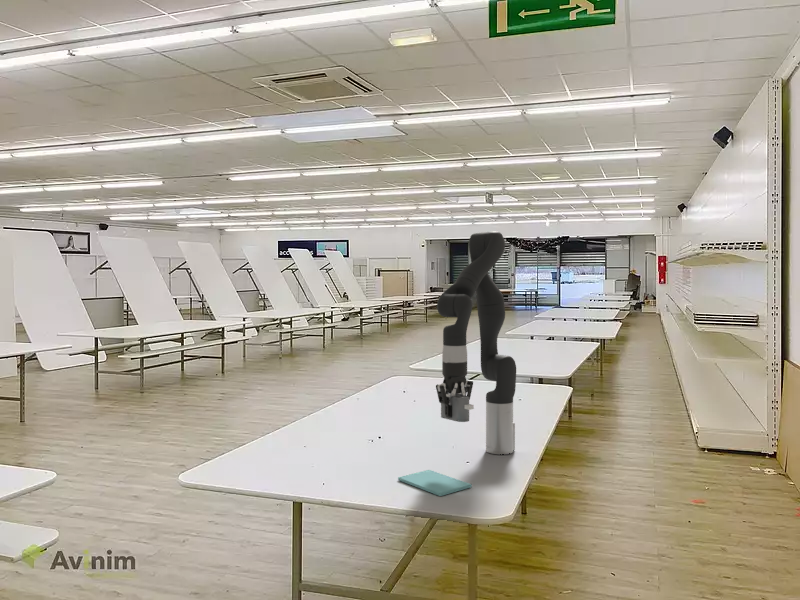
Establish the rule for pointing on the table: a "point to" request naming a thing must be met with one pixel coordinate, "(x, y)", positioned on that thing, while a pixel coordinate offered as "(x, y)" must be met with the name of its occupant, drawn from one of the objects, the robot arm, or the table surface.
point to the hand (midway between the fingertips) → (454, 415)
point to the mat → (435, 482)
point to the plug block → (458, 409)
